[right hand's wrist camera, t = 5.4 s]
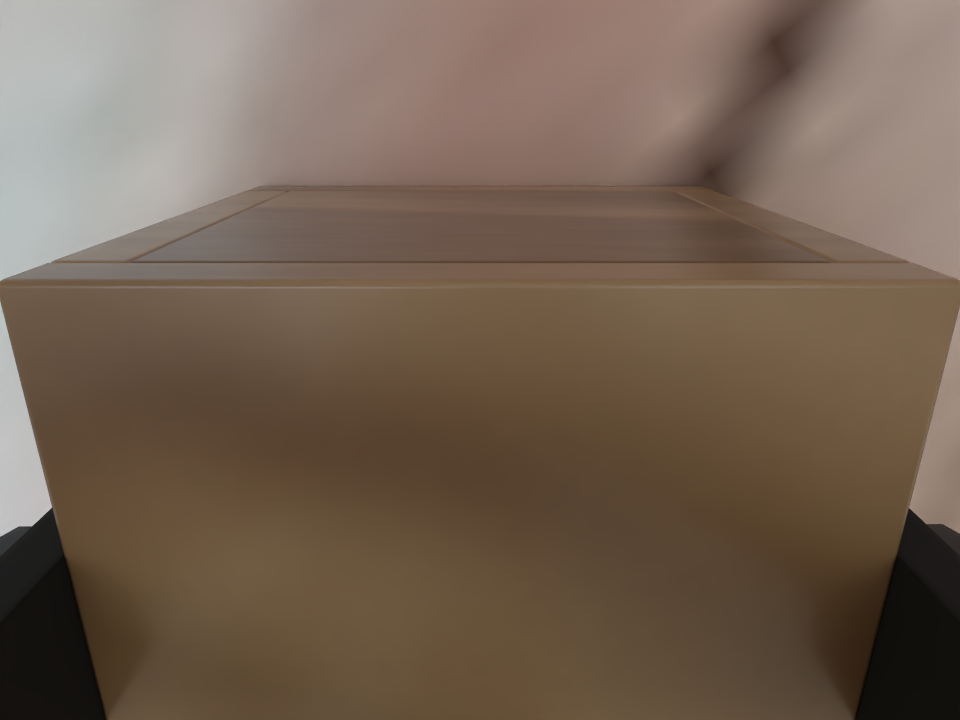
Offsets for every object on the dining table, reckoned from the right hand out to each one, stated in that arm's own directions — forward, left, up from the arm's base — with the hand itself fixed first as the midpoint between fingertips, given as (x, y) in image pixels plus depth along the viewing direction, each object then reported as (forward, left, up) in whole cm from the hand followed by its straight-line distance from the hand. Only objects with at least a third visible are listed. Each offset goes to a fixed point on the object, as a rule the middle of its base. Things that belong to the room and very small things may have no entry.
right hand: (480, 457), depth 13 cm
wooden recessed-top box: (+3, +4, -4) cm, 7 cm away
